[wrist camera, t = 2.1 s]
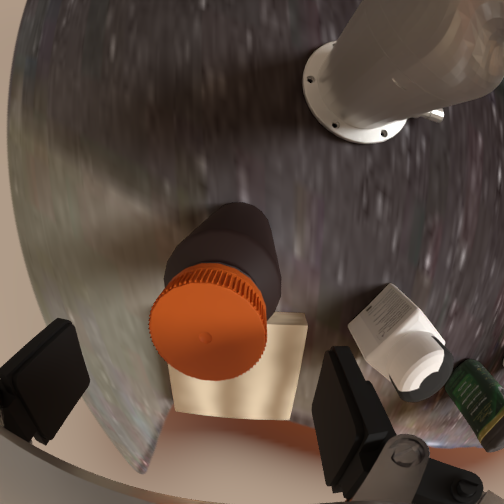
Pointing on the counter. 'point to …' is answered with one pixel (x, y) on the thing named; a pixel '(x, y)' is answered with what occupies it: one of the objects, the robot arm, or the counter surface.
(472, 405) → the coffee jar
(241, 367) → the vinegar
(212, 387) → the plate
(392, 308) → the container
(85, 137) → the counter surface
